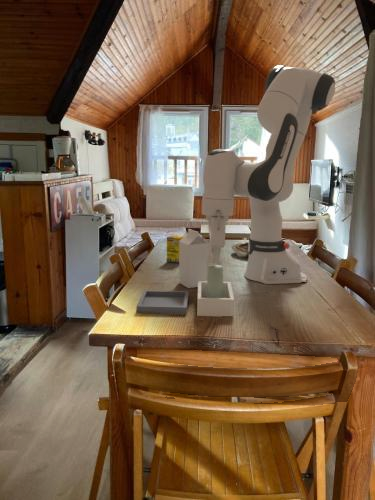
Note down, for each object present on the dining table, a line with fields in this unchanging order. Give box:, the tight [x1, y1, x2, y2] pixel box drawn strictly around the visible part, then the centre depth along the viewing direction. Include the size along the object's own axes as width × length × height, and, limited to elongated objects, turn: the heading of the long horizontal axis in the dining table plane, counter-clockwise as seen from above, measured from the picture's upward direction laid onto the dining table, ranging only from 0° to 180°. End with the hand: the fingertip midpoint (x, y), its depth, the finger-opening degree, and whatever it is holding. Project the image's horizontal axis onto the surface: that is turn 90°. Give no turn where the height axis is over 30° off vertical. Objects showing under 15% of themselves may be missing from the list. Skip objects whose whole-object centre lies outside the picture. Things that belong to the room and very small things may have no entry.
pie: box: [231, 241, 249, 260], centre depth 179 cm, size 28×27×5 cm
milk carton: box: [178, 228, 208, 289], centre depth 134 cm, size 7×7×19 cm
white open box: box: [196, 280, 235, 317], centre depth 116 cm, size 10×16×5 cm, turn 178°
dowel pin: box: [207, 264, 224, 298], centre depth 115 cm, size 4×4×12 cm
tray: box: [136, 289, 189, 315], centre depth 116 cm, size 14×14×2 cm
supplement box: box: [166, 234, 185, 265], centre depth 165 cm, size 6×6×11 cm
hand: (215, 256), depth 112 cm, fingers open, 8 cm apart
